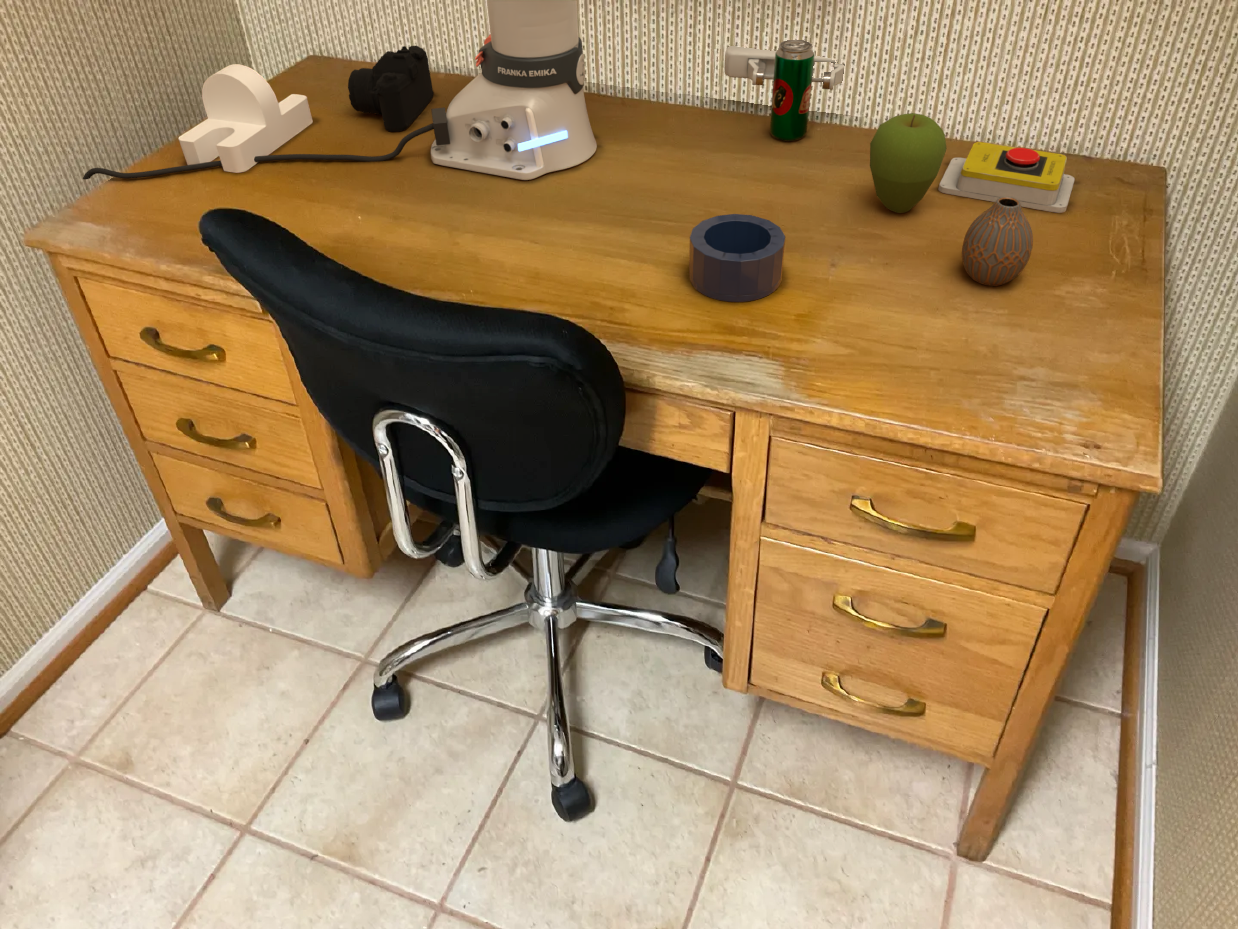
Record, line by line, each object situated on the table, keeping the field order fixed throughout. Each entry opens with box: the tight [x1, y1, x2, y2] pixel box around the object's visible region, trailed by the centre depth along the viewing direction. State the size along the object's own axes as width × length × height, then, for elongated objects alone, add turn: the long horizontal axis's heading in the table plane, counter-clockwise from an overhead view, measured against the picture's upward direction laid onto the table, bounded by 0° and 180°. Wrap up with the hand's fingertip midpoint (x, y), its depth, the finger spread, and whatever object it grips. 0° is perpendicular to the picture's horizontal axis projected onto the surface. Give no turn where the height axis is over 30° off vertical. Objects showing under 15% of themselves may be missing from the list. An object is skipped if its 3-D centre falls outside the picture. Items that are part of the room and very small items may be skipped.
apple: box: [869, 112, 948, 214], centre depth 113 cm, size 9×8×12 cm
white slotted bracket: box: [178, 63, 313, 174], centre depth 134 cm, size 10×18×10 cm, turn 161°
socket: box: [688, 213, 786, 303], centre depth 105 cm, size 10×10×5 cm
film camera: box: [347, 45, 435, 133], centre depth 141 cm, size 15×10×9 cm, turn 169°
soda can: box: [769, 40, 815, 142], centre depth 130 cm, size 5×5×12 cm
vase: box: [961, 197, 1034, 287], centre depth 102 cm, size 7×7×9 cm
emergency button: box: [938, 141, 1076, 214], centre depth 119 cm, size 9×4×15 cm
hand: (792, 81), depth 131 cm, fingers open, 8 cm apart
